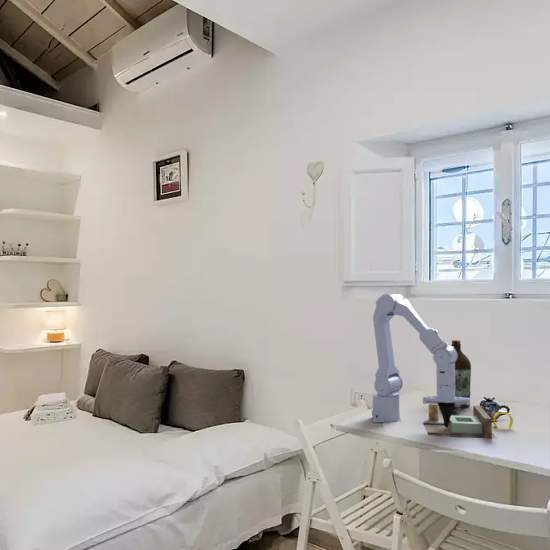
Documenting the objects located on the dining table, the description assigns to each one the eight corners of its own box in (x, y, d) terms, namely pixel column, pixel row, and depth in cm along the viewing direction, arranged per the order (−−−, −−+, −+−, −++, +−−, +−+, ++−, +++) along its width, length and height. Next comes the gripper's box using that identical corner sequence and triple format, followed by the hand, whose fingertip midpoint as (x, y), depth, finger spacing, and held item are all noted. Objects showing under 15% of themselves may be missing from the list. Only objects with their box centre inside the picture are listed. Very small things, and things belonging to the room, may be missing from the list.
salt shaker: (462, 417, 184) (462, 383, 184) (445, 416, 185) (444, 382, 185) (459, 412, 189) (459, 380, 189) (443, 412, 190) (442, 379, 191)
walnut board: (428, 438, 160) (428, 416, 160) (422, 423, 176) (422, 404, 176) (497, 440, 157) (496, 418, 157) (484, 425, 173) (484, 405, 173)
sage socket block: (452, 433, 163) (452, 423, 163) (447, 425, 171) (447, 415, 171) (482, 434, 161) (482, 424, 161) (475, 426, 170) (475, 416, 170)
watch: (510, 428, 170) (511, 410, 170) (513, 431, 168) (514, 412, 168) (491, 427, 171) (492, 409, 171) (494, 429, 168) (495, 411, 168)
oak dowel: (429, 422, 177) (429, 405, 177) (428, 420, 180) (427, 402, 180) (439, 423, 177) (438, 405, 177) (437, 420, 180) (437, 403, 180)
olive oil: (437, 403, 204) (436, 339, 204) (461, 401, 207) (460, 338, 207) (452, 409, 194) (451, 342, 194) (477, 407, 196) (476, 341, 196)
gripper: (424, 386, 164) (424, 429, 164) (472, 387, 162) (472, 430, 162) (421, 381, 171) (421, 422, 171) (467, 382, 169) (467, 424, 169)
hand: (446, 426), depth 167 cm, fingers closed
